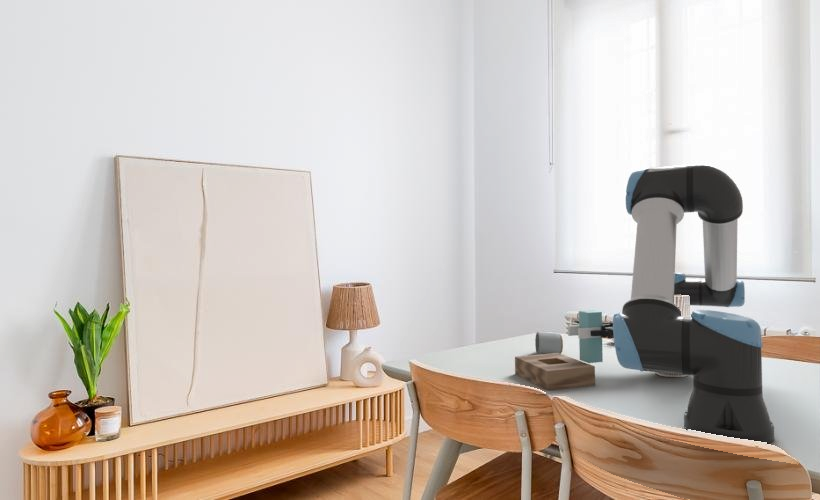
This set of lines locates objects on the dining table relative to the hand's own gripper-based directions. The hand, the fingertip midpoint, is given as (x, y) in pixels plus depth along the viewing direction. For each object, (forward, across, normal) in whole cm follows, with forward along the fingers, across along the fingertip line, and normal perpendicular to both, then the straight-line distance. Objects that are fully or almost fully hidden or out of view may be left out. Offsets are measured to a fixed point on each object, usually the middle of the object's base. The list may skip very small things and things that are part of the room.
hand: (573, 332), depth 146 cm
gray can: (-9, +30, -13) cm, 34 cm away
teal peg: (-5, 0, -8) cm, 10 cm away
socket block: (+7, 0, -13) cm, 14 cm away
